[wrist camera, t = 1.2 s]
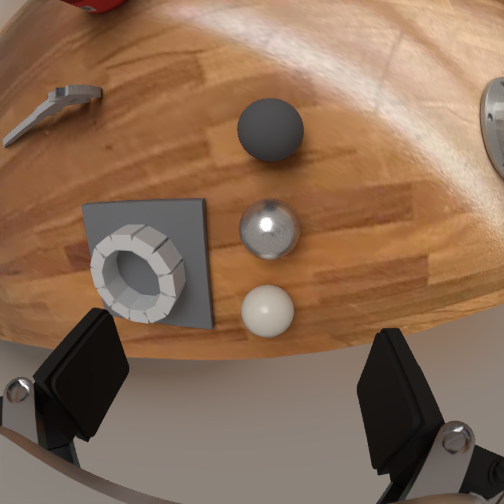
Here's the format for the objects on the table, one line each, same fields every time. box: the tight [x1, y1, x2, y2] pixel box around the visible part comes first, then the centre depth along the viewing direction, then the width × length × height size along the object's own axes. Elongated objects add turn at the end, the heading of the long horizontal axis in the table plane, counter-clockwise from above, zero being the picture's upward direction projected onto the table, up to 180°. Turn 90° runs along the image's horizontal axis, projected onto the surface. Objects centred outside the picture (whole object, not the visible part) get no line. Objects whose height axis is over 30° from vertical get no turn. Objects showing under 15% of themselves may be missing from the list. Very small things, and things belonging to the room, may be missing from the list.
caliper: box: [3, 85, 101, 148], centre depth 20 cm, size 20×1×6 cm, turn 95°
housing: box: [82, 198, 214, 329], centre depth 26 cm, size 14×14×4 cm
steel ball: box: [239, 198, 300, 260], centre depth 22 cm, size 5×5×5 cm
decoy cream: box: [241, 285, 294, 337], centre depth 25 cm, size 5×5×5 cm
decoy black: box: [237, 98, 304, 161], centre depth 19 cm, size 5×5×5 cm
